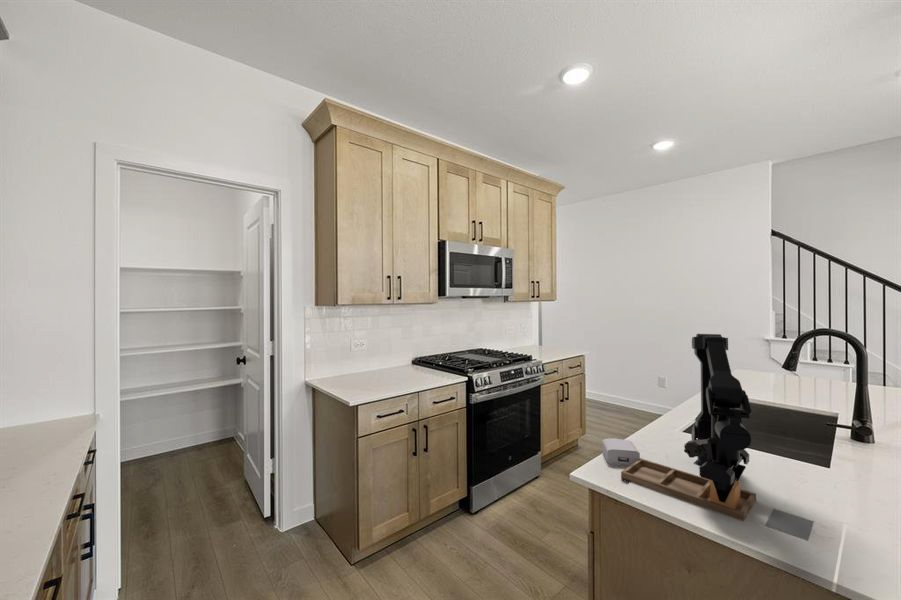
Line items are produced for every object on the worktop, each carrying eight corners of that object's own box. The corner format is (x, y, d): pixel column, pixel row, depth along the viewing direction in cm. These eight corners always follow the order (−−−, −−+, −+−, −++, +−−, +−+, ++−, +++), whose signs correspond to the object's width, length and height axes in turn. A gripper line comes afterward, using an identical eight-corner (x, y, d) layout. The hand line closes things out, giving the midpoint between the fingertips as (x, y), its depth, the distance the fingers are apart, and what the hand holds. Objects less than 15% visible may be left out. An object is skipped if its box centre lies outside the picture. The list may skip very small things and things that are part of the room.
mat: (773, 510, 92) (773, 508, 92) (813, 523, 86) (813, 521, 86) (764, 528, 85) (764, 525, 85) (807, 543, 80) (807, 540, 80)
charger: (627, 447, 130) (639, 466, 116) (599, 445, 132) (607, 464, 118) (627, 433, 130) (639, 451, 116) (599, 431, 132) (607, 449, 118)
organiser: (640, 465, 116) (640, 458, 116) (756, 502, 95) (756, 493, 95) (621, 479, 108) (621, 471, 108) (743, 523, 87) (743, 514, 87)
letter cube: (716, 494, 98) (716, 474, 98) (740, 502, 94) (740, 481, 94) (710, 501, 95) (710, 481, 95) (734, 509, 91) (734, 488, 91)
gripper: (699, 418, 107) (699, 474, 107) (675, 435, 94) (675, 498, 95) (749, 428, 98) (749, 489, 99) (730, 449, 86) (730, 518, 86)
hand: (725, 497), depth 95 cm, fingers closed on letter cube, 5 cm apart
